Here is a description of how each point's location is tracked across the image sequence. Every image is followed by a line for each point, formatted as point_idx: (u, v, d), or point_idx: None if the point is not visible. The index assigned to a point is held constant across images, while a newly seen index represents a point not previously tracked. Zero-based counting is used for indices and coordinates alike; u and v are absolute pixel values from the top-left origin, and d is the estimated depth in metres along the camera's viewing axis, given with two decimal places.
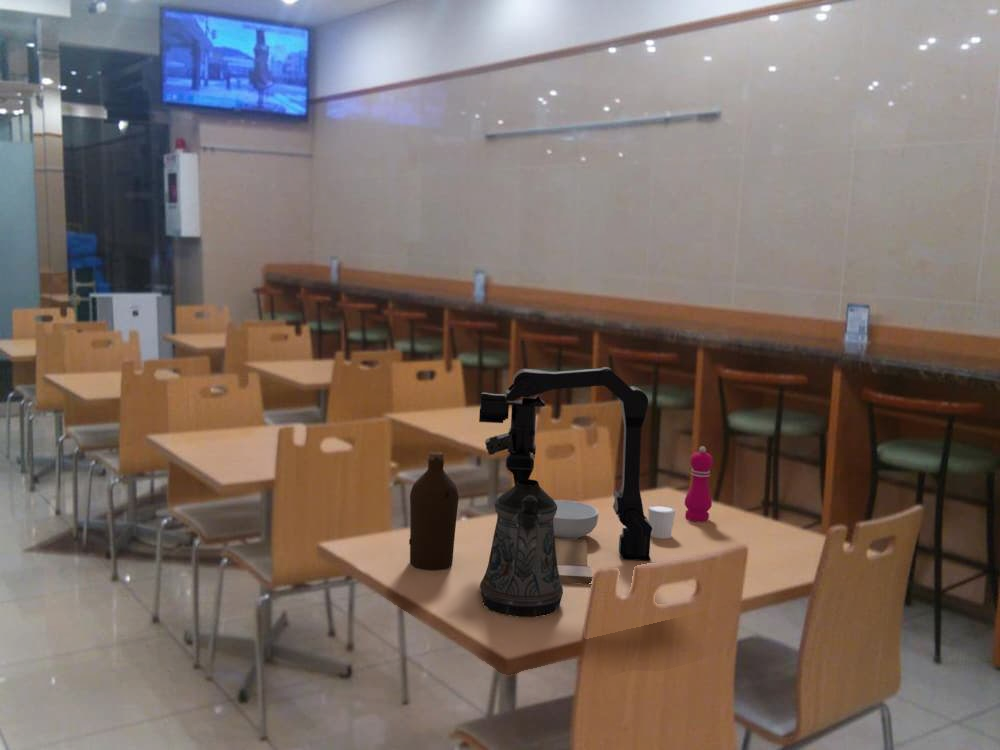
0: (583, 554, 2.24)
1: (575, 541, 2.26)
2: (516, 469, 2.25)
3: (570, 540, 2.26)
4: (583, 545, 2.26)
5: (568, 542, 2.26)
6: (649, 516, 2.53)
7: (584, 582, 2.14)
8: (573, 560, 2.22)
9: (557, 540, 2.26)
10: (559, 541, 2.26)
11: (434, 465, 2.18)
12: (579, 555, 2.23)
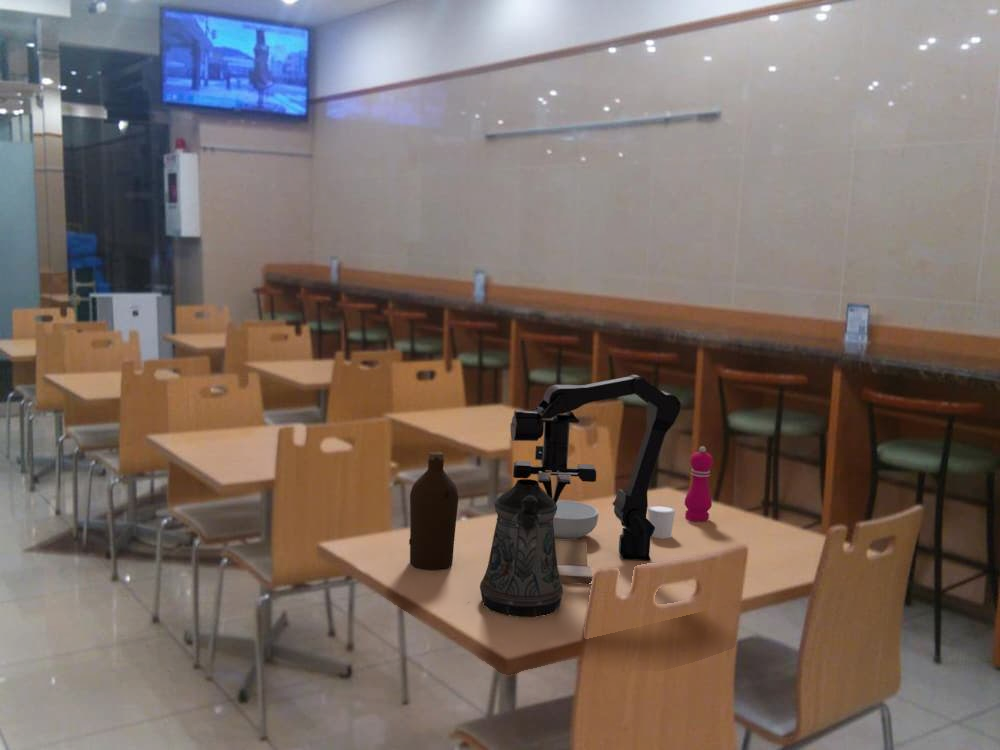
0: (583, 554, 2.24)
1: (575, 541, 2.26)
2: None
3: (570, 540, 2.26)
4: (583, 545, 2.26)
5: (568, 542, 2.26)
6: (649, 516, 2.53)
7: (584, 582, 2.14)
8: (573, 560, 2.22)
9: (557, 540, 2.26)
10: (559, 541, 2.26)
11: (434, 465, 2.18)
12: (579, 555, 2.23)
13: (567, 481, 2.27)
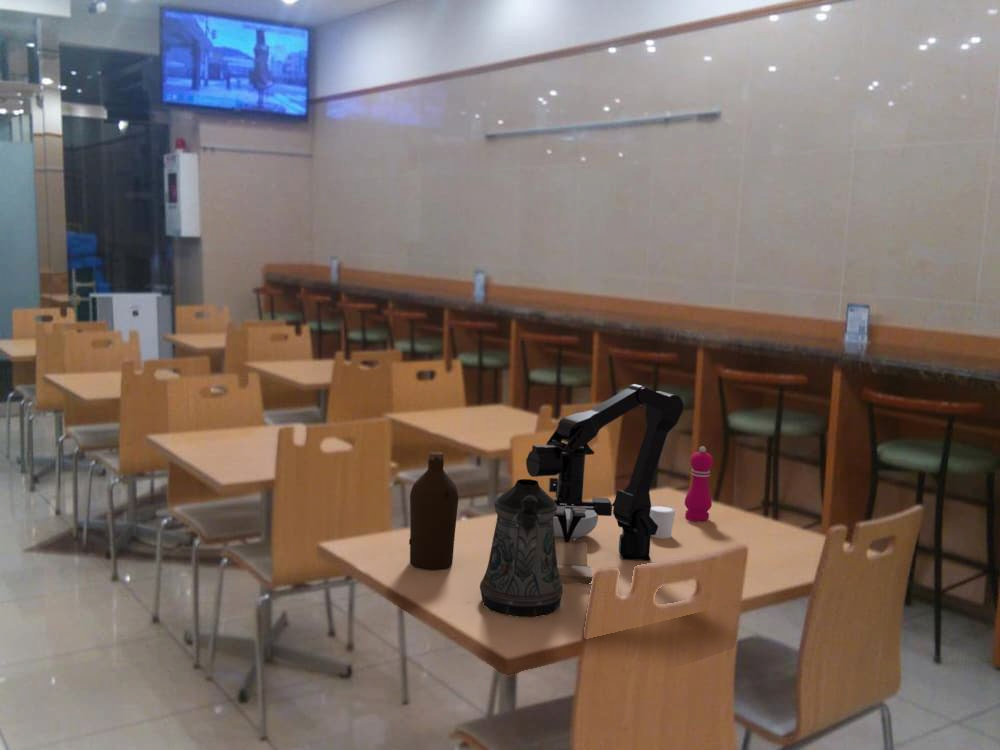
0: (583, 554, 2.24)
1: (575, 541, 2.26)
2: None
3: (570, 541, 2.26)
4: (583, 545, 2.26)
5: (568, 542, 2.26)
6: None
7: (584, 582, 2.14)
8: (573, 560, 2.22)
9: (557, 540, 2.26)
10: (559, 541, 2.26)
11: (434, 465, 2.18)
12: (579, 555, 2.23)
13: (582, 515, 2.23)
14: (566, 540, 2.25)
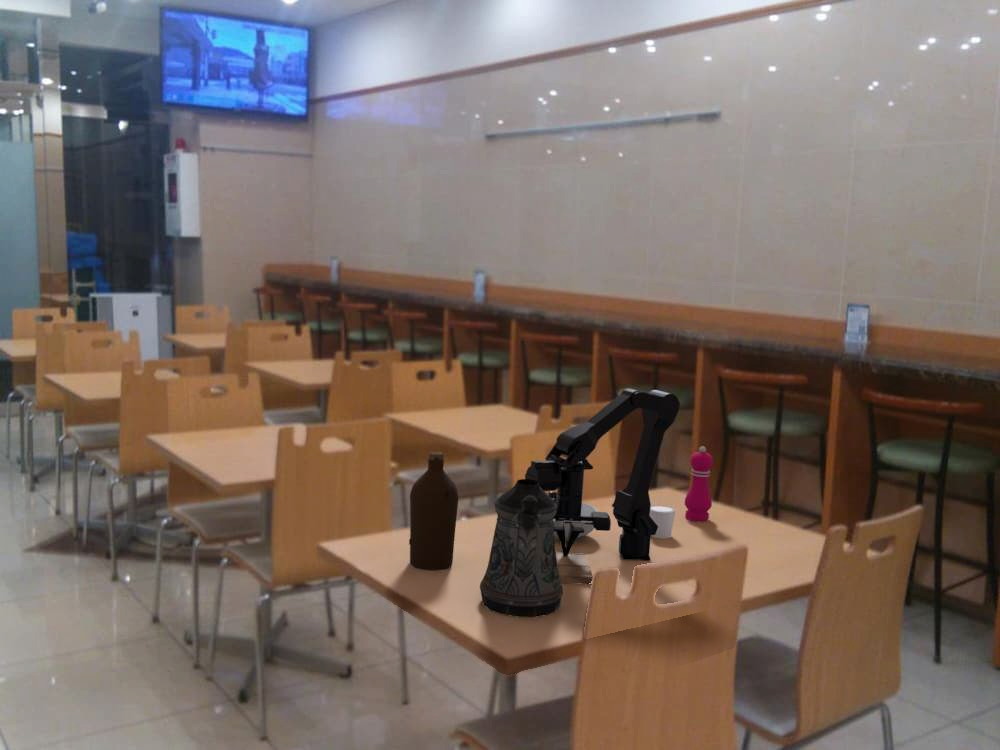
0: (582, 560, 2.24)
1: (574, 554, 2.28)
2: None
3: None
4: (582, 556, 2.27)
5: None
6: None
7: (584, 582, 2.14)
8: (573, 562, 2.23)
9: (556, 553, 2.28)
10: (558, 553, 2.28)
11: (434, 465, 2.18)
12: (578, 560, 2.24)
13: (581, 530, 2.23)
14: (565, 554, 2.26)
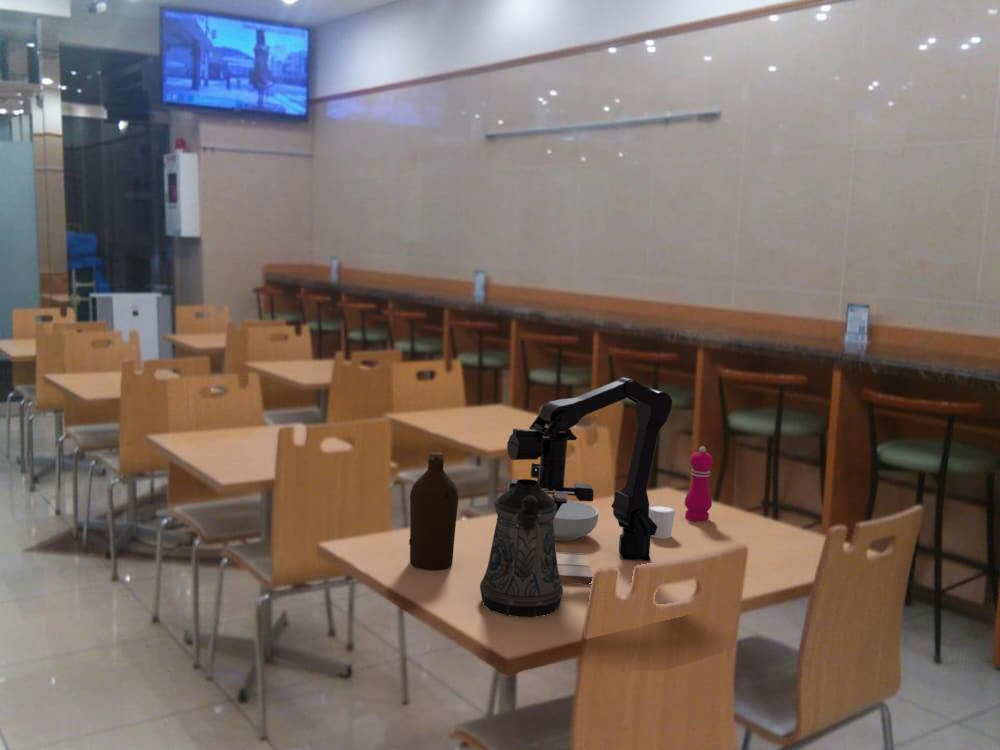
0: (582, 560, 2.24)
1: (574, 554, 2.28)
2: None
3: (568, 553, 2.28)
4: (582, 556, 2.27)
5: (567, 554, 2.27)
6: (649, 516, 2.53)
7: (584, 582, 2.14)
8: (573, 562, 2.23)
9: (556, 553, 2.28)
10: (558, 553, 2.28)
11: (434, 465, 2.18)
12: (578, 560, 2.24)
13: (563, 500, 2.22)
14: None
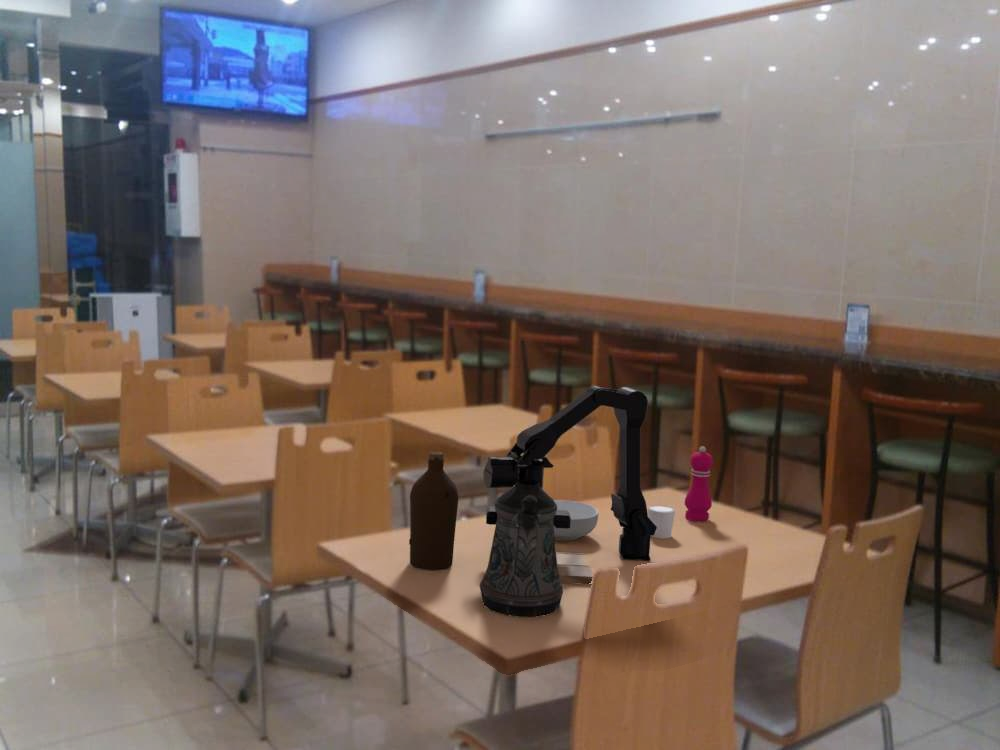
0: (582, 560, 2.24)
1: (574, 554, 2.28)
2: None
3: (568, 553, 2.28)
4: (582, 556, 2.27)
5: (567, 554, 2.27)
6: (649, 516, 2.53)
7: (584, 582, 2.14)
8: (573, 562, 2.23)
9: (556, 553, 2.28)
10: (558, 553, 2.28)
11: (434, 465, 2.18)
12: (578, 560, 2.24)
13: None
14: None
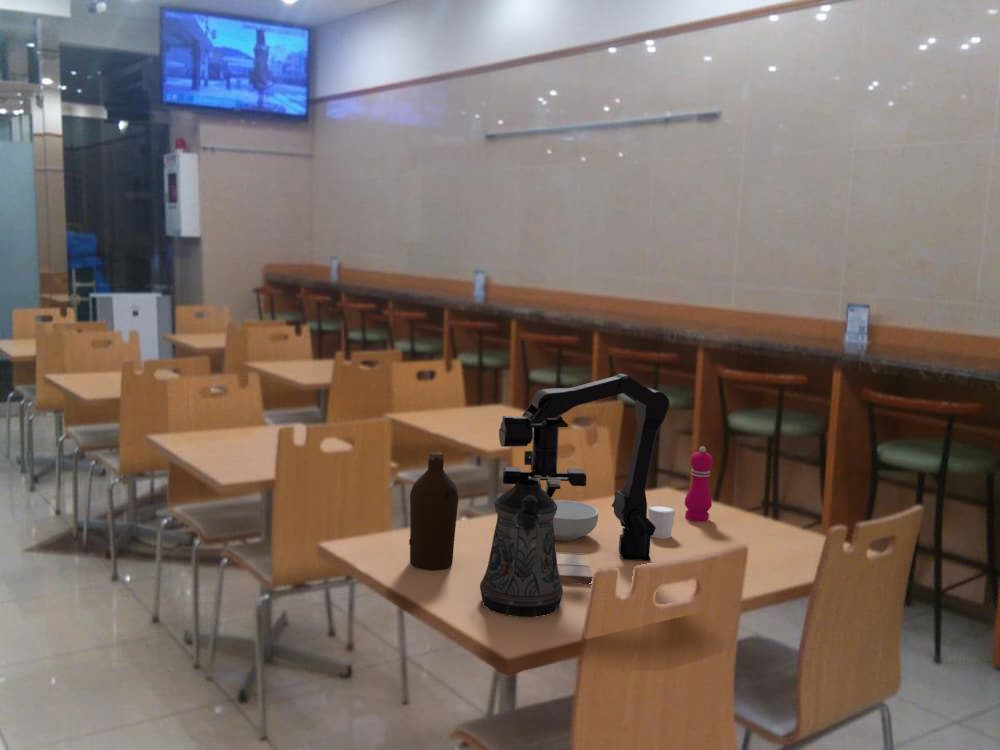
0: (582, 560, 2.24)
1: (574, 554, 2.28)
2: None
3: (568, 553, 2.28)
4: (582, 556, 2.27)
5: (567, 554, 2.27)
6: (649, 516, 2.53)
7: (584, 582, 2.14)
8: (573, 562, 2.23)
9: (556, 553, 2.28)
10: (558, 553, 2.28)
11: (434, 465, 2.18)
12: (578, 560, 2.24)
13: (557, 486, 2.26)
14: None
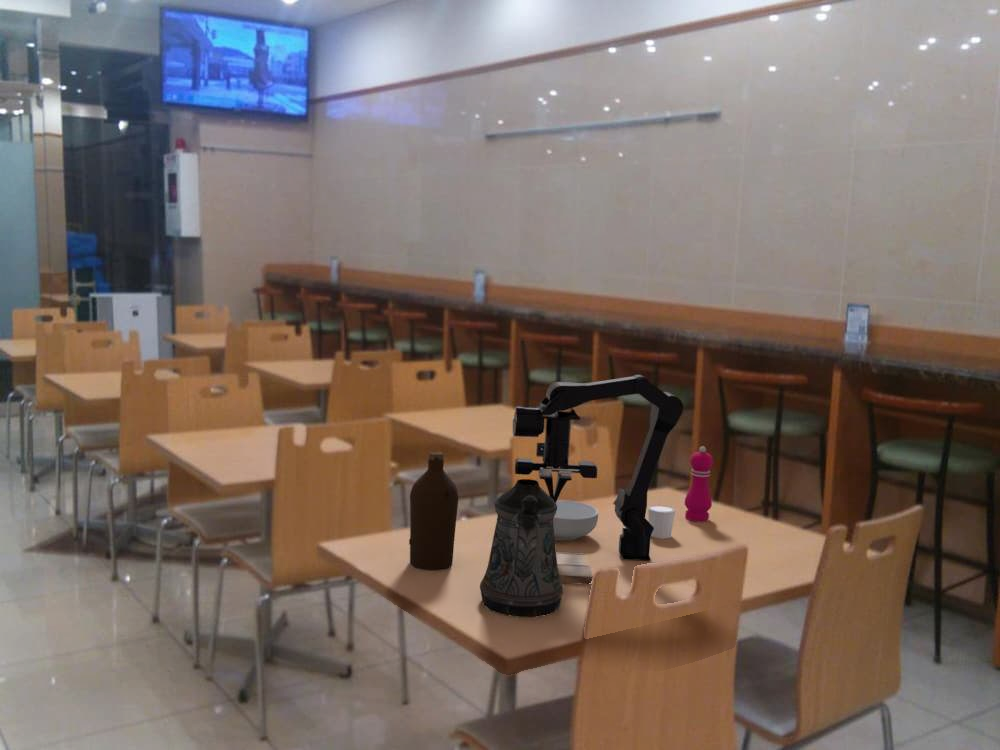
0: (582, 560, 2.24)
1: (574, 554, 2.28)
2: (539, 474, 2.32)
3: (568, 553, 2.28)
4: (582, 556, 2.27)
5: (567, 554, 2.27)
6: (649, 516, 2.53)
7: (584, 582, 2.14)
8: (573, 562, 2.23)
9: (556, 553, 2.28)
10: (558, 553, 2.28)
11: (434, 465, 2.18)
12: (578, 560, 2.24)
13: (568, 477, 2.29)
14: None
